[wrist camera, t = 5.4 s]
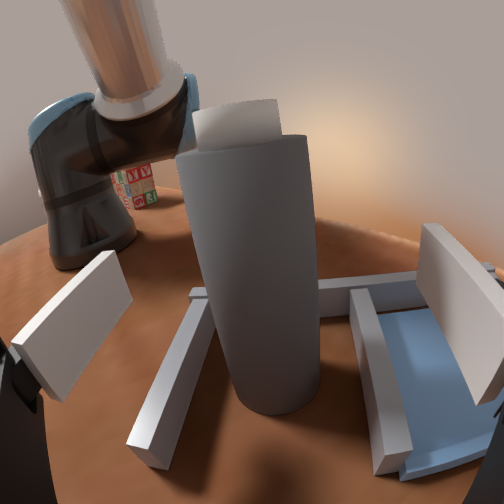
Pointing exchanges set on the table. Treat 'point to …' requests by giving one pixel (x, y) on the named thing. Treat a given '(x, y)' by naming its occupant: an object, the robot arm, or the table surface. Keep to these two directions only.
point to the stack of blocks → (135, 186)
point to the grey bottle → (257, 250)
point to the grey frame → (371, 371)
